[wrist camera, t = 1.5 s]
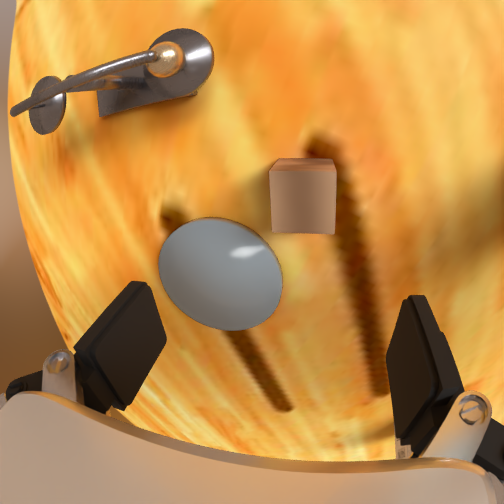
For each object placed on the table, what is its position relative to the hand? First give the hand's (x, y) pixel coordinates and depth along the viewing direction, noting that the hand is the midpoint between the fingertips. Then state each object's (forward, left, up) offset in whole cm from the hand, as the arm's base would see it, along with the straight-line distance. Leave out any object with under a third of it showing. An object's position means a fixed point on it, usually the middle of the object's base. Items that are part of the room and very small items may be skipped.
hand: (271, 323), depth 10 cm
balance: (+16, -12, -19) cm, 28 cm away
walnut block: (0, 0, -19) cm, 19 cm away
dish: (+10, +11, -19) cm, 24 cm away
